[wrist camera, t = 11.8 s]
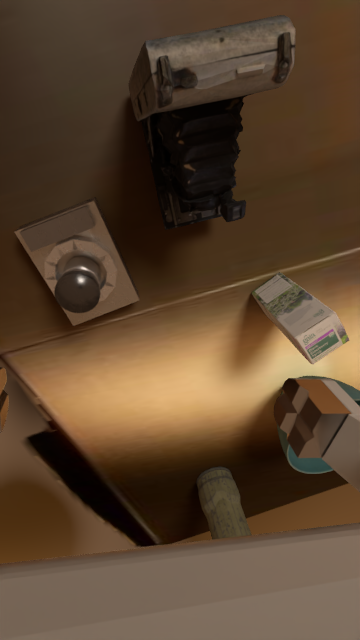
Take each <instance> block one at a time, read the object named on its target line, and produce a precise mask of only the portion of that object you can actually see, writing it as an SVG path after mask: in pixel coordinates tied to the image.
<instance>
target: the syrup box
mask: <svg viewBox="0 0 360 640" xmlns="http://www.w3.org/2000/svg"><path fill="white" fill-rule="evenodd" d="M252 295H253V297H254V298H255V300H256V301H257V303H258V304H259V306H260V307H261V309H262V310H263V312H264V313H265V314H266V316H267V317H268V318H269V319H270V320H271V321H272V322H273V323H274V324H275V325H276V326H277V327H278V328H279V329H280V330H281V331H282V332H283V334H284V335H285V336H286V337H287V338H288V339H289V340H290V341H291V342H292V344H293V345H294V346H295V347H296V348H297V349H298V350H299V351H300V353H301V354H302V355H303V356H304V357H305V358H306V359H307V360H308V361H309V362H310V363H311V364H314V363H315V362H317V361H318V360H320V359H321V358H323V357H325V356H326V355H328V354H329V353H331V352H332V351H334V350H335V349H337V348H338V347H340V346H341V345H343V344H344V343H346V342H347V341H349V338H348V336H347V334H346V332H345V329H344V327H343V325H342V323H341V322H340V320H339V318H338V316H337V314H336V313H335V312H334V311H333V310H331V309H330V308H329V307H327V306H326V305H324V304H323V303H322V302H320V301H319V300H317V299H316V298H315V297H313V296H312V295H311V294H309V293H308V292H307V291H305V290H304V289H302V288H301V287H300V286H298V285H297V284H296V283H294V282H293V281H291V280H290V279H289V278H287V277H286V276H285V275H283V274H282V273H280V272H279V273H278V274H276V275H275V276H274V277H272V278H271V279H270V280H268V281H267V282H265V283H264V284H263V285H261V286H260V287H259V288H257V289H256V290H254V291H253V292H252Z"/></svg>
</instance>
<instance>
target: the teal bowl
mask: <svg viewBox="0 0 360 640" xmlns="http://www.w3.org/2000/svg"><path fill="white" fill-rule="evenodd" d="M299 379H331V378H326V377H319V376H303V377H299ZM331 380H334V379H331ZM334 381H335V382H336V383H337V384H338V385H339V386H340V387H341V388H342V389H343V390H344V391H345V392H346V393H347V394H348V395H349V396H350V397H351V398H352V399H353V400H354V401H355V402H356V403H357V404H358V405H359V406H360V391H359V390H357V389H355V388H354V387H352V386H350V385H347V384H345V383H343V382H340V381H338V380H334ZM282 394H283V391H282V393H281V395H282ZM281 395H280V396H281ZM277 428H278V434H279V438H280V442H281V445H282V448H283V451H284V453H285V456H286V458H287V460H288V462H289V464H290V465H291V466H292V467H293V468H294V469H296V470H297V471H300V472H303V473H309V474H318V473H325V472H329V471H333V470H334V469H333V468H331V467H330V466H329V465H328V464H327V463H326V462H325V461H323V460H322V458H298V457H297V456H296V454H295V453H294V451H293V449H292V448H291V446H290V444H289V443H288V441H287V433H286V432H284V431H283V430H282V429H280V428H279V426H278V424H277Z"/></svg>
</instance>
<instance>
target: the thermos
mask: <svg viewBox="0 0 360 640" xmlns="http://www.w3.org/2000/svg"><path fill="white" fill-rule="evenodd" d="M196 483H197V488H198V490H199V491H198V494H199V499H200V503H201V507H202V510H203V512H204V514H205V516H206V517H207V520H208V524H209V528H210V532H211V536H212V540H213V539H222V538H231V537H239V536H248V535H251V532H250V529H249V527H248V524H247V521H246V518H245V515H244V513H243V510H242V507H241V504H240V494H239V491H238V489H237V486H236V483H235V482H234V480H233V478H232V474H231V472H230V471H229V469H227V468H223V467H215V468H211V469H208V470H206V471H204V472H203V473H202V474H200V475H199V477H198V478H197V481H196Z"/></svg>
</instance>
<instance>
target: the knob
mask: <svg viewBox="0 0 360 640" xmlns="http://www.w3.org/2000/svg"><path fill="white" fill-rule="evenodd" d="M100 280H101V272H100V268H99V267H98V265H97V264H96V263H95V262H94V261H93V260H91V259H89V258H86V257H76V258H73V259H71V260H70V261H68V262H67V264H66V265H65V267H64V270H63V272H62V275H61V277H60V278H59V279H58V281H57V284H56V286H55V290H54V294H55V298H56V300H57V302H58V303H59V305H60V306H61V307H62V308H64V309H65V310H67V311H70V312H73V313H85V312H88V311H90V310H92V309H93V308H95V307H96V305H97V304H98V302H99V299H100Z"/></svg>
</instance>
